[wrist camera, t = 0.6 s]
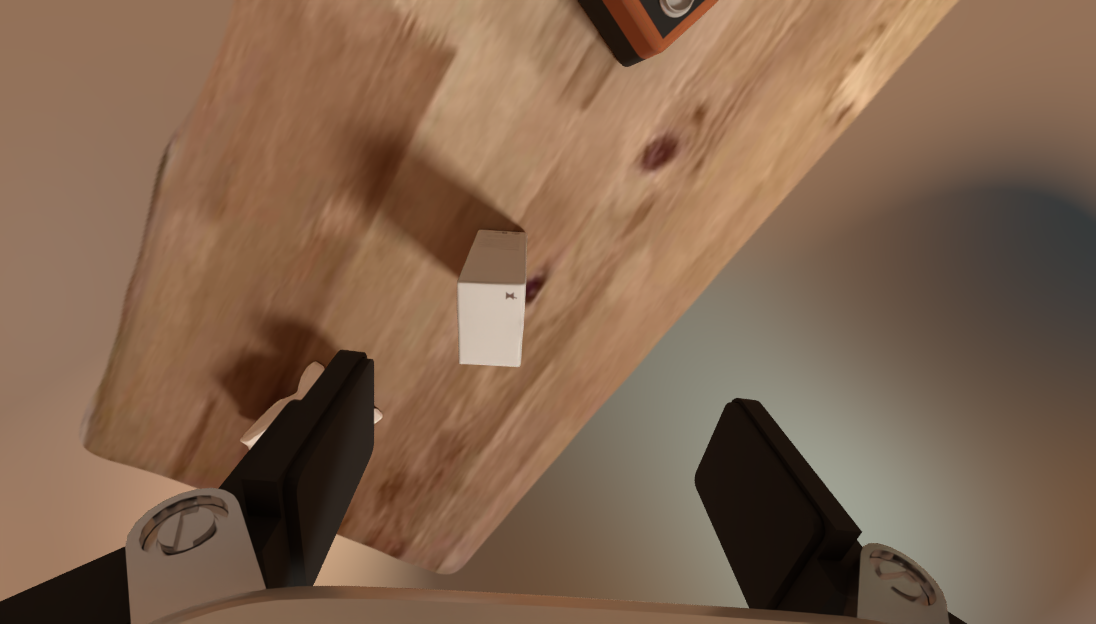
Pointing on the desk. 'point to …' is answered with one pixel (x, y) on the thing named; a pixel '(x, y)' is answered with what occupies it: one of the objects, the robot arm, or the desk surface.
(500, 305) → the skincare box
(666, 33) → the battery
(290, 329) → the desk surface
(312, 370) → the white rounded figurine
